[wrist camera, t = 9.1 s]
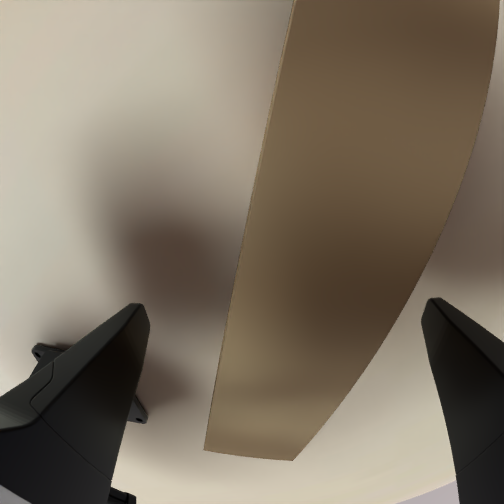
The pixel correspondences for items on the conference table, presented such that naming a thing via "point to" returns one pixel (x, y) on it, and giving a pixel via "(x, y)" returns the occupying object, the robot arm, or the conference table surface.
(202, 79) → the conference table surface
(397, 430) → the conference table surface
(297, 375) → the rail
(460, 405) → the robot arm
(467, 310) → the conference table surface
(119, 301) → the conference table surface
